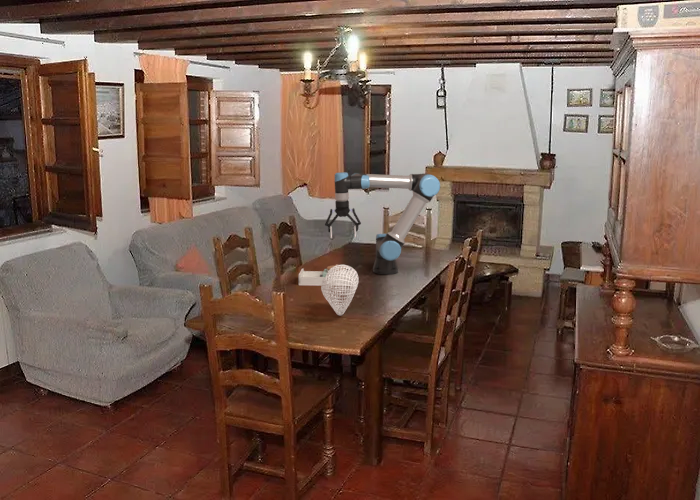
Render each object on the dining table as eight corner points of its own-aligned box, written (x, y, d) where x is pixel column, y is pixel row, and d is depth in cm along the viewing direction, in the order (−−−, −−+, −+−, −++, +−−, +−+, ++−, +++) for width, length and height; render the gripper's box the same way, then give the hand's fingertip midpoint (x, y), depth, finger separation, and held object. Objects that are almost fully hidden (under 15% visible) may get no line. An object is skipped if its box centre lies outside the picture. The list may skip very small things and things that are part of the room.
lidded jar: (343, 283, 356) (343, 266, 354) (324, 282, 358) (324, 265, 357) (348, 279, 367) (348, 262, 365) (329, 278, 369) (329, 261, 367)
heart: (328, 306, 316) (327, 261, 312) (359, 307, 315) (359, 262, 310) (319, 323, 289) (318, 275, 285) (353, 324, 287) (354, 276, 283)
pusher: (328, 277, 369) (328, 268, 368) (326, 282, 357) (326, 273, 356) (321, 277, 369) (321, 268, 368) (319, 282, 357) (318, 273, 356)
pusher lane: (356, 279, 370) (356, 269, 369) (355, 286, 355) (355, 275, 354) (302, 278, 371) (302, 268, 370) (298, 285, 357) (298, 274, 355)
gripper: (364, 198, 368) (365, 235, 373) (320, 200, 368) (321, 237, 373) (364, 200, 361) (365, 237, 365) (319, 201, 361) (321, 239, 365)
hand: (343, 237), depth 369 cm, fingers open, 13 cm apart
